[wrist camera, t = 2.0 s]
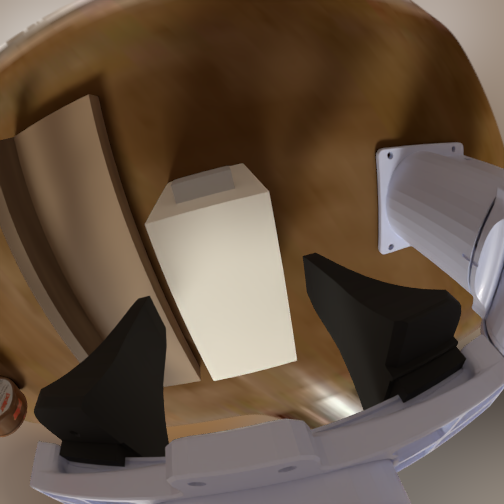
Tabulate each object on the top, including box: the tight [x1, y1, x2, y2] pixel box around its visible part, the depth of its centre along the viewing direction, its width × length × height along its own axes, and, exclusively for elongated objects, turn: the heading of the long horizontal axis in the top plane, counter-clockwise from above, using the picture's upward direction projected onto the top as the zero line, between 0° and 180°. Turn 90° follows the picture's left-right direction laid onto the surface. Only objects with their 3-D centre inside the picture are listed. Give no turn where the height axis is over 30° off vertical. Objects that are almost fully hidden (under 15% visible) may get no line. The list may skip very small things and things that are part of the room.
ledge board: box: [0, 94, 201, 387], centre depth 15 cm, size 7×22×4 cm, turn 12°
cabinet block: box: [145, 163, 297, 381], centre depth 14 cm, size 4×10×7 cm, turn 12°
